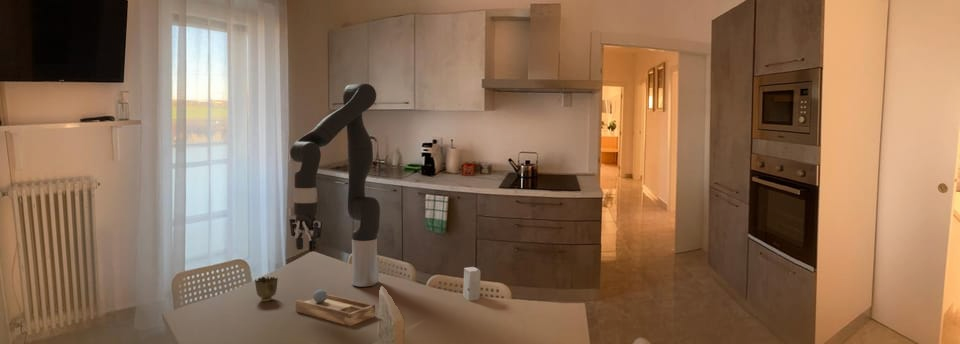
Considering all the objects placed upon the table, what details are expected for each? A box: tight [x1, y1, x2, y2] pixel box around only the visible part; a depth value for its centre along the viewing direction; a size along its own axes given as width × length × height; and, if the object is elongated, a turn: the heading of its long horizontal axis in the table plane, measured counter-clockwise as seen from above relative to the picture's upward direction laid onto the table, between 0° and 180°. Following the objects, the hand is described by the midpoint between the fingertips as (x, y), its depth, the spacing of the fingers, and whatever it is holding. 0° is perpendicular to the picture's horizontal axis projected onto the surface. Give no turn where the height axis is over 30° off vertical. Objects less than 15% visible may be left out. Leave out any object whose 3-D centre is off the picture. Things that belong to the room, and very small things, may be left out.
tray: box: [295, 293, 376, 327], centre depth 178 cm, size 11×25×4 cm, turn 58°
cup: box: [254, 276, 279, 303], centre depth 190 cm, size 8×7×8 cm
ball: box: [312, 289, 328, 303], centre depth 181 cm, size 4×4×4 cm
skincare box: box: [462, 266, 482, 302], centre depth 192 cm, size 6×4×12 cm
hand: (305, 250), depth 184 cm, fingers open, 5 cm apart
